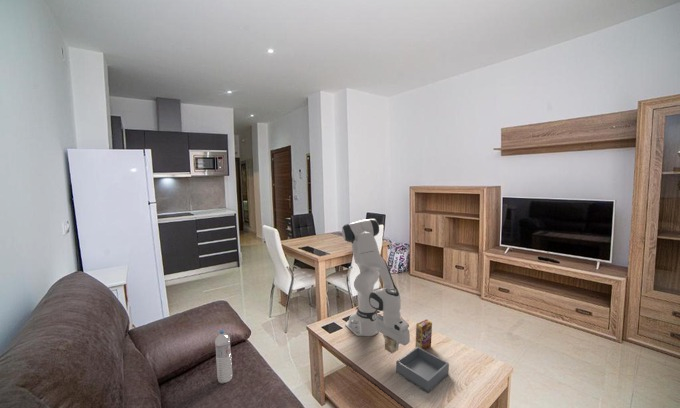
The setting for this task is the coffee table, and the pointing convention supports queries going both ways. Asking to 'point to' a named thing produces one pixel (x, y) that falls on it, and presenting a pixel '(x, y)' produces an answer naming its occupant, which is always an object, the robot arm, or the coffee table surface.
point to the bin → (422, 369)
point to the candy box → (423, 334)
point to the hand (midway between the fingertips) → (391, 344)
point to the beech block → (390, 344)
